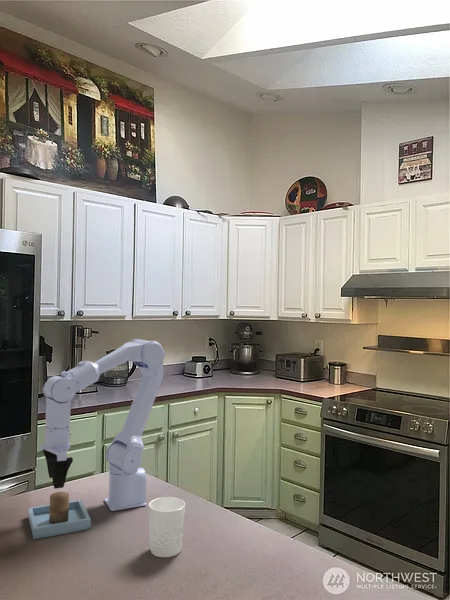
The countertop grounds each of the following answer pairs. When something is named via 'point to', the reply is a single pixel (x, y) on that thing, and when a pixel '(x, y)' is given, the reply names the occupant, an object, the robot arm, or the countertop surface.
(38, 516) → the light blue square tray
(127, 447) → the robot arm
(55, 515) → the tan rounded cylinder
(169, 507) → the white cup
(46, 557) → the countertop surface
